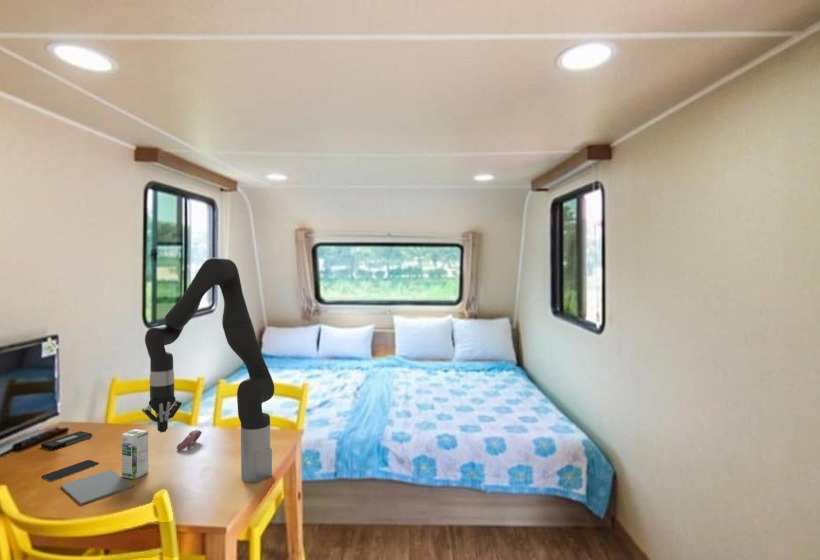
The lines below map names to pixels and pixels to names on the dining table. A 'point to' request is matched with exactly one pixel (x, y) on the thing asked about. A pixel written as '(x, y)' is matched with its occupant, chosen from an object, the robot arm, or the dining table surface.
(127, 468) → the syrup box
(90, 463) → the smartphone
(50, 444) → the vhs tape
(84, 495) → the mat
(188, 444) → the purple-brown oblong lump
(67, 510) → the dining table surface
